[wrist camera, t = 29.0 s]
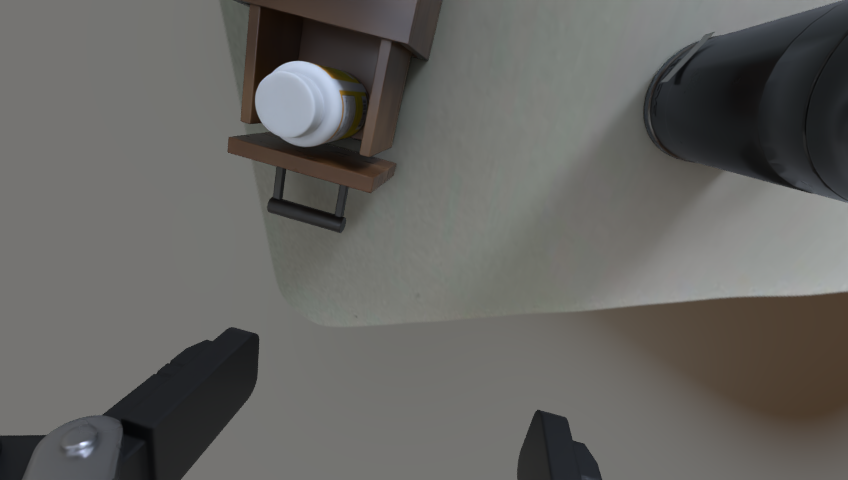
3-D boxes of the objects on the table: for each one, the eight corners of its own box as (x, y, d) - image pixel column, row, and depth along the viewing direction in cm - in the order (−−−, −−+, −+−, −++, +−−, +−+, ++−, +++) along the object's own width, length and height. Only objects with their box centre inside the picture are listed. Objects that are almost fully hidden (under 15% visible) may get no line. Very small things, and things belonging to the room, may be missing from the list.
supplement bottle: (298, 87, 34) (225, 79, 24) (354, 58, 32) (300, 38, 23) (327, 148, 35) (269, 164, 26) (382, 123, 34) (342, 130, 24)
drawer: (382, 224, 38) (358, 252, 31) (272, 192, 39) (222, 212, 31) (429, 14, 32) (413, -13, 24) (296, -20, 32) (241, -57, 25)
